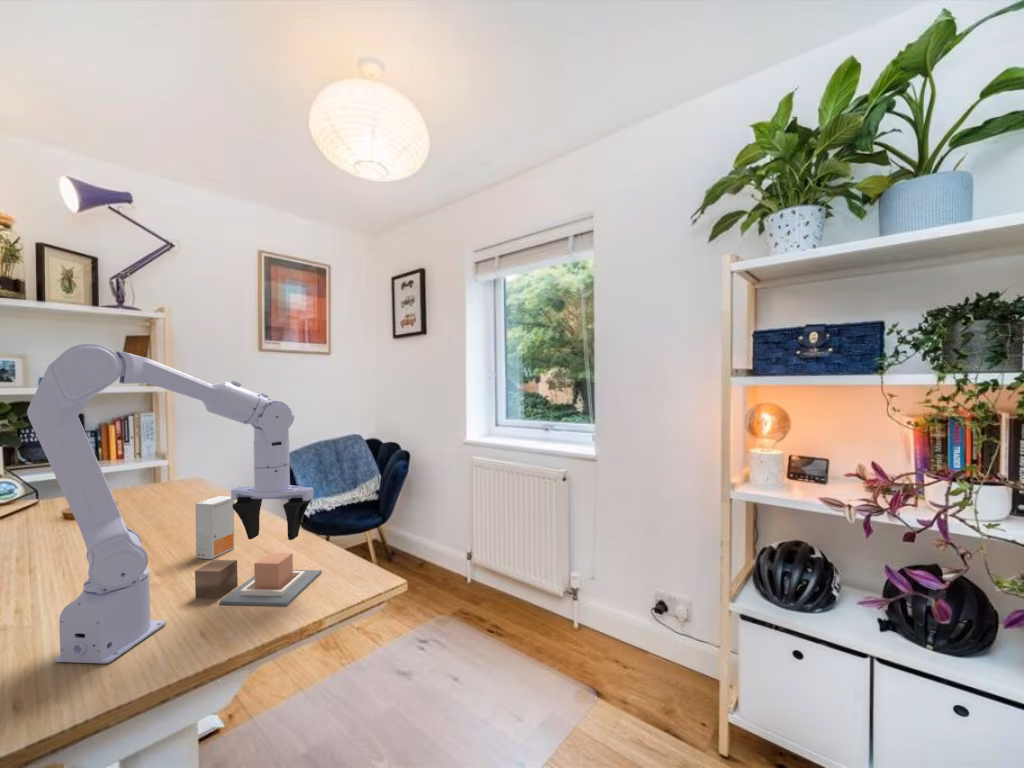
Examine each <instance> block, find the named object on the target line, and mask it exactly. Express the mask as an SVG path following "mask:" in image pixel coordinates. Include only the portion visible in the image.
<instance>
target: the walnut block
mask: <svg viewBox="0 0 1024 768" xmlns="http://www.w3.org/2000/svg"><path fill="white" fill-rule="evenodd" d="M194 580H195V582H194V584H195V585H194V588H195V589H194V591H195V599H206V600H207V599H208V600H211V599H213V600H222V599H223V597H226V596H227V595H228V594H230V593H231V592H233V591H234V590H235V589H237V588H238V587H239V585H238V580H239V578H238V560H237V559H212V560H211V561H209V562H208V563H206V564H204V565H202V566H201V567H199V568H197V569H196V570H194Z"/></svg>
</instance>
